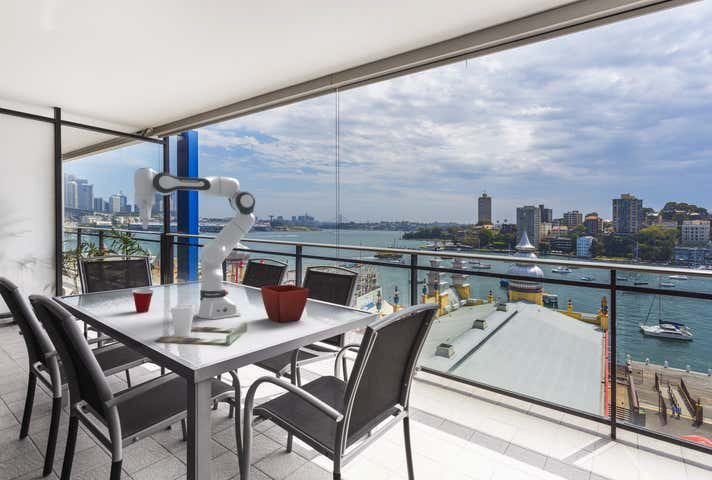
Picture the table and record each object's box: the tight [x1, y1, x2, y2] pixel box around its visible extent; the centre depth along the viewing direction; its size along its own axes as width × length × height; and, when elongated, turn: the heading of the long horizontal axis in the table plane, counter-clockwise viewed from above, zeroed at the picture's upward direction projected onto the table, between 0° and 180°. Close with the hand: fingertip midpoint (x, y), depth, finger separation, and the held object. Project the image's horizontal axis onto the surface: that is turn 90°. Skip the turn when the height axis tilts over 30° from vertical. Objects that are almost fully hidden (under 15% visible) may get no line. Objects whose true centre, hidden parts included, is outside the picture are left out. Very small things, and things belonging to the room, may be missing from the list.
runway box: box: [154, 321, 248, 346], centre depth 166 cm, size 32×22×4 cm
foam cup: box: [170, 303, 195, 338], centre depth 166 cm, size 10×9×13 cm
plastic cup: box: [131, 288, 155, 314], centre depth 207 cm, size 11×11×12 cm
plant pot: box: [260, 284, 309, 324], centre depth 201 cm, size 19×19×17 cm
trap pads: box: [182, 326, 218, 342], centre depth 166 cm, size 6×22×1 cm, turn 178°
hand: (145, 228), depth 185 cm, fingers open, 8 cm apart
